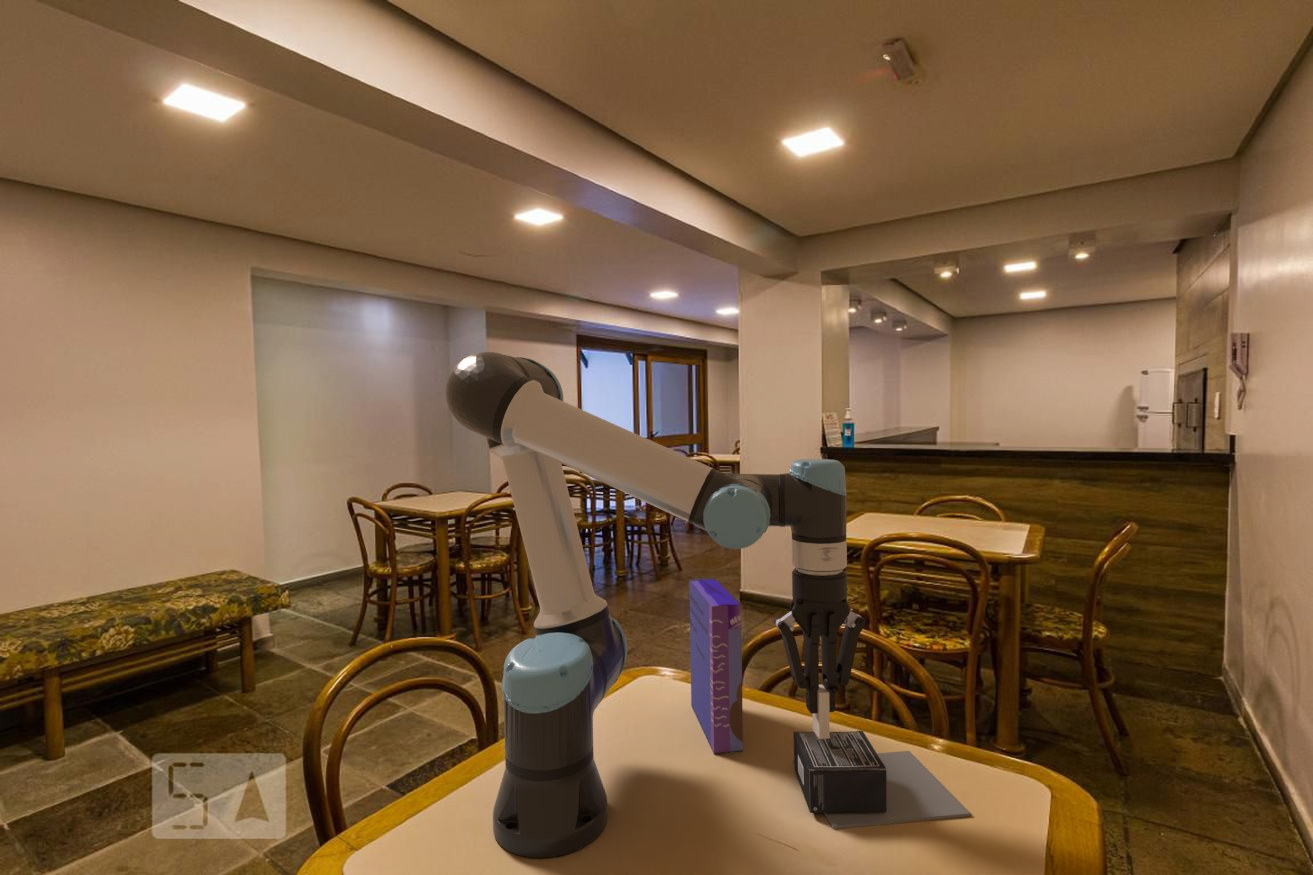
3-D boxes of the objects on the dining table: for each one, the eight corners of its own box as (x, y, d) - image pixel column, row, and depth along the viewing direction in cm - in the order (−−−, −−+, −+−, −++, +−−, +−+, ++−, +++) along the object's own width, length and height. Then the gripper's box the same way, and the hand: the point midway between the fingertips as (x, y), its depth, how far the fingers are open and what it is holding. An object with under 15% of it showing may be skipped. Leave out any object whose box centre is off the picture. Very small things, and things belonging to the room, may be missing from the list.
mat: (833, 828, 82) (833, 825, 82) (792, 762, 98) (792, 760, 98) (970, 815, 84) (970, 812, 84) (909, 753, 100) (909, 750, 100)
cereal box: (743, 751, 102) (741, 603, 101) (714, 754, 101) (711, 605, 100) (716, 703, 119) (714, 576, 118) (691, 705, 118) (689, 578, 117)
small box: (809, 817, 84) (889, 815, 84) (808, 769, 84) (887, 767, 84) (794, 772, 95) (864, 771, 94) (792, 729, 94) (863, 728, 94)
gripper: (782, 577, 85) (784, 751, 85) (875, 573, 86) (876, 743, 87) (766, 564, 92) (768, 724, 93) (852, 561, 94) (853, 718, 94)
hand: (820, 733), depth 90 cm, fingers closed
